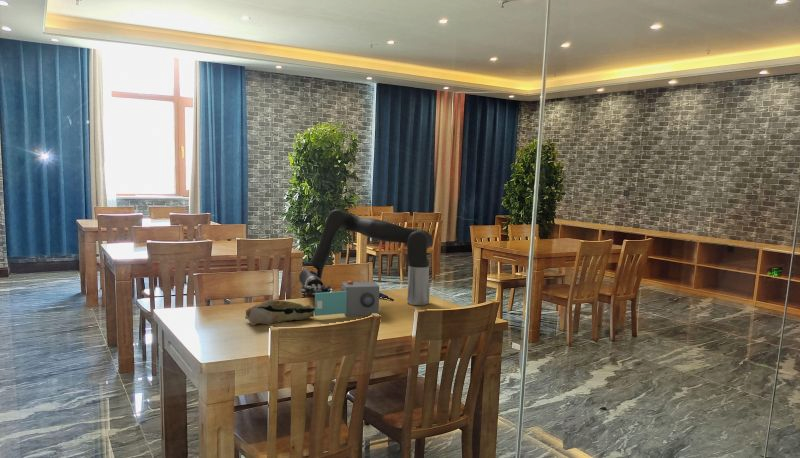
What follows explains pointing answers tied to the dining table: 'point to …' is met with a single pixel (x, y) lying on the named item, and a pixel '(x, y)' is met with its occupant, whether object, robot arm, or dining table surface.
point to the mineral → (278, 312)
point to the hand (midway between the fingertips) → (318, 293)
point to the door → (330, 303)
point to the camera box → (361, 298)
